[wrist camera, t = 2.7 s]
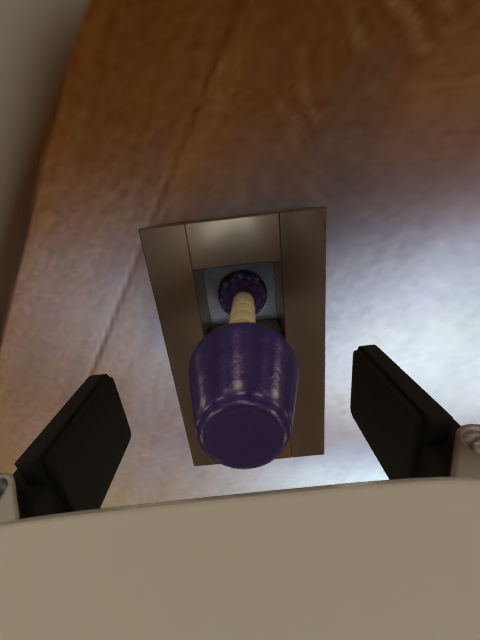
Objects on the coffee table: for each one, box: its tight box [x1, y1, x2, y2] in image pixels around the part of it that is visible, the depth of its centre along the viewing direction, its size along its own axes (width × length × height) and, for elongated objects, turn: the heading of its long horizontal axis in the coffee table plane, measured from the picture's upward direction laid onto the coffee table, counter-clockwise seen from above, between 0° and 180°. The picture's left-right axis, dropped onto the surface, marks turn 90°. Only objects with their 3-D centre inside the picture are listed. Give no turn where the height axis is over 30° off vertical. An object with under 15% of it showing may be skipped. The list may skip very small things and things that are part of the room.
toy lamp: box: [189, 270, 299, 469], centre depth 16 cm, size 5×5×17 cm
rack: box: [139, 207, 326, 466], centre depth 23 cm, size 12×21×4 cm, turn 6°
